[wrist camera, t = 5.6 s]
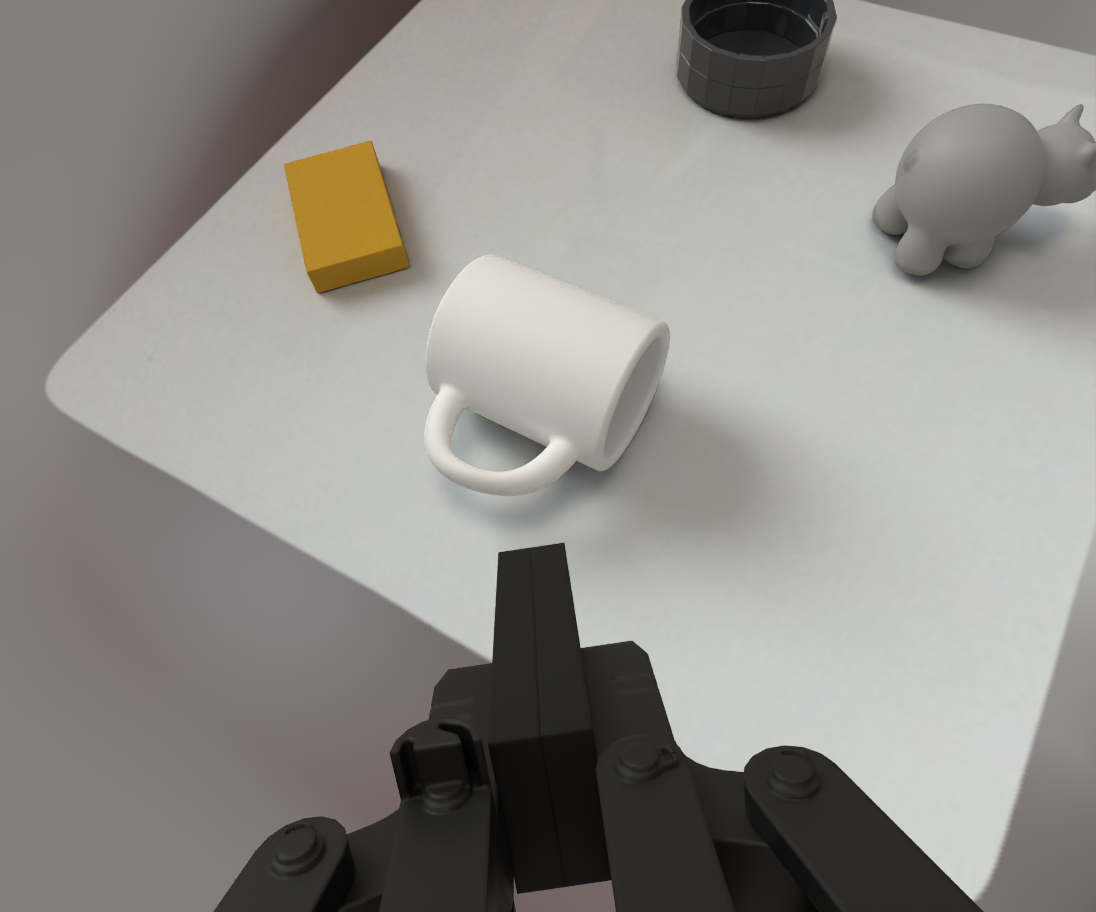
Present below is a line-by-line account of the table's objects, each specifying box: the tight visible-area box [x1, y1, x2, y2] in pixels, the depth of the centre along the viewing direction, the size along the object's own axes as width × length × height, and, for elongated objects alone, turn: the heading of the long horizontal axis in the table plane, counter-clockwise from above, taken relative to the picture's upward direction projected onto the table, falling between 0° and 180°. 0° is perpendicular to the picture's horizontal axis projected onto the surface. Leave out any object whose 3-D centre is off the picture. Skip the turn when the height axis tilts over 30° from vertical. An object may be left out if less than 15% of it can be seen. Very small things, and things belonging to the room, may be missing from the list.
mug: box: [424, 255, 670, 496], centre depth 38 cm, size 12×10×8 cm
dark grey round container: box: [677, 0, 837, 119], centre depth 52 cm, size 10×10×4 cm
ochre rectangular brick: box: [284, 141, 410, 293], centre depth 48 cm, size 6×10×2 cm, turn 18°
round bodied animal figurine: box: [873, 104, 1096, 275], centre depth 42 cm, size 7×12×8 cm, turn 95°
